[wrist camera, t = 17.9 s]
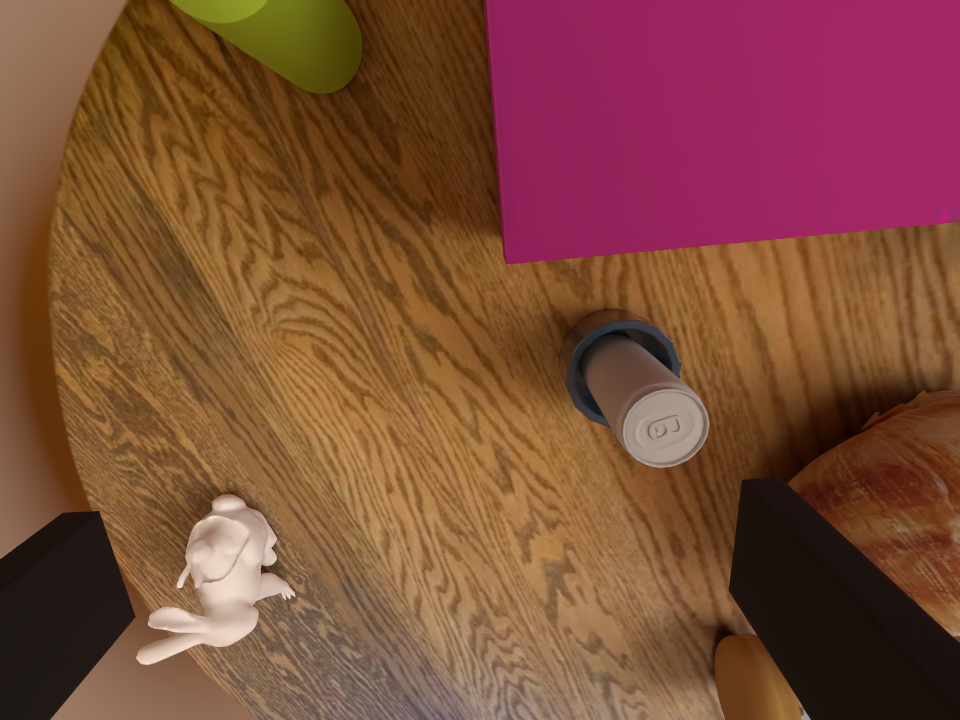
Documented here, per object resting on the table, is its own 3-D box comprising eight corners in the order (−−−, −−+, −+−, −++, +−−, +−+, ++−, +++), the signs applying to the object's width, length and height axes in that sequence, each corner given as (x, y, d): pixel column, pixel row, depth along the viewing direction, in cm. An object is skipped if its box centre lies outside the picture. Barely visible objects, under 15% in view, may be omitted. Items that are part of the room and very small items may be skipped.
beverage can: (570, 344, 37) (608, 404, 25) (632, 322, 36) (700, 373, 25) (588, 400, 38) (633, 481, 27) (649, 379, 38) (721, 453, 26)
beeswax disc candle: (743, 687, 47) (808, 808, 38) (704, 688, 47) (759, 809, 38) (754, 608, 45) (827, 717, 35) (713, 610, 45) (775, 719, 35)
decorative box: (472, -77, 30) (460, -341, 16) (790, -115, 29) (1084, -428, 15) (498, 242, 35) (506, 264, 21) (765, 216, 35) (963, 221, 20)
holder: (612, 287, 36) (626, 296, 32) (681, 356, 38) (703, 372, 34) (537, 361, 38) (543, 378, 34) (607, 424, 40) (620, 447, 36)
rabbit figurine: (297, 597, 45) (248, 698, 36) (217, 604, 45) (147, 706, 36) (264, 481, 41) (201, 559, 32) (178, 490, 42) (90, 570, 32)
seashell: (862, 309, 35) (1176, 410, 21) (1000, 415, 42) (1300, 540, 28) (686, 531, 40) (848, 727, 26) (836, 591, 47) (1024, 769, 33)
